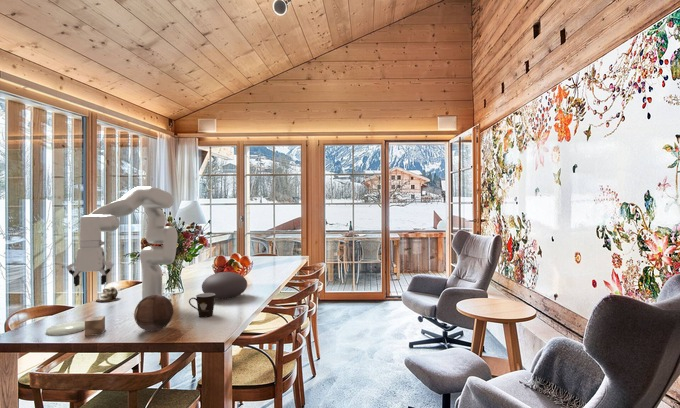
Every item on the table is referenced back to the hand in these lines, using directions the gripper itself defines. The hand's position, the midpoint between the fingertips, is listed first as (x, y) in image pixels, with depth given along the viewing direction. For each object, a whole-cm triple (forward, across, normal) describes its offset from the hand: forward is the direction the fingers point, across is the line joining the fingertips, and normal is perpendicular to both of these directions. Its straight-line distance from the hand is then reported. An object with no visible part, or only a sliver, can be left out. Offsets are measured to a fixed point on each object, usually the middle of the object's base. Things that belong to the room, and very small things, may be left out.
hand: (90, 284), depth 163 cm
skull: (+19, +10, -60) cm, 64 cm away
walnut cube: (+20, -3, +2) cm, 20 cm away
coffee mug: (+19, -45, -11) cm, 50 cm away
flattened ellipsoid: (+19, -54, -44) cm, 72 cm away
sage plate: (+20, +10, -6) cm, 23 cm away
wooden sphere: (+20, -26, +6) cm, 33 cm away
